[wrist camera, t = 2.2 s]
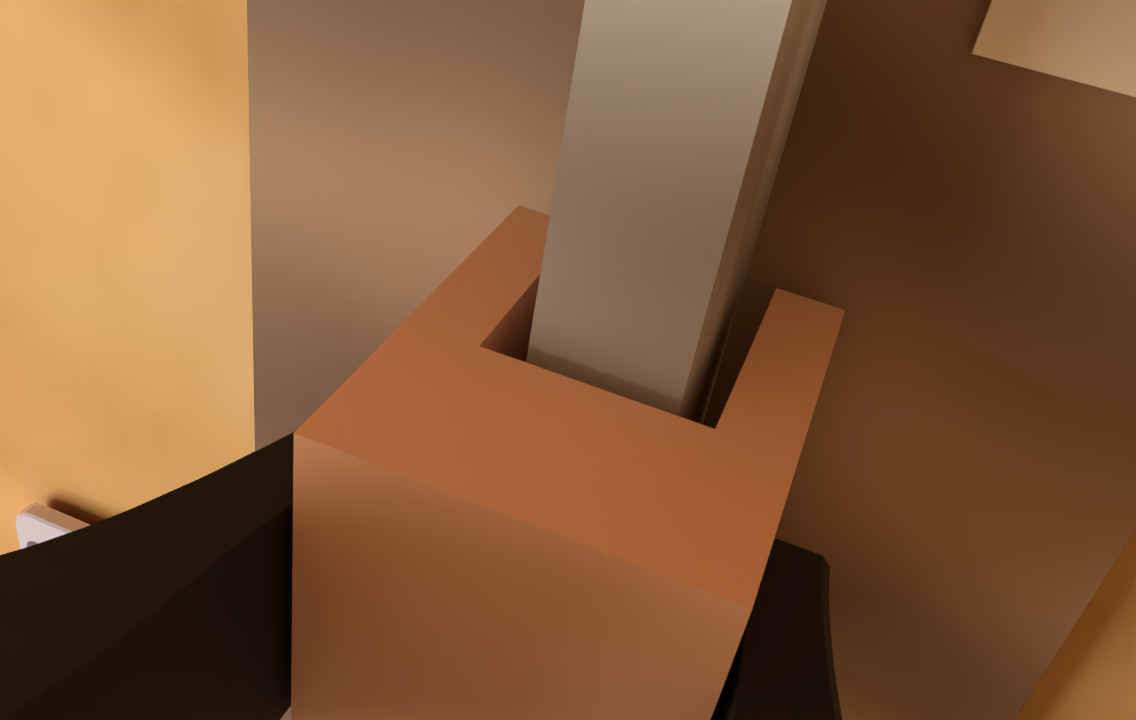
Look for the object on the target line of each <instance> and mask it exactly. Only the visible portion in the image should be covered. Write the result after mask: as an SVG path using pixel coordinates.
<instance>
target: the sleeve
mask: <svg viewBox="0 0 1136 720" xmlns="http://www.w3.org/2000/svg"><path fill="white" fill-rule="evenodd" d="M549 218H550V215H547V214H544V213H541V212H538V211H535V210H531V209H528V208H525V207H522V206H518V207H517V208H516V209H515V210H514V211H513V212H512V213H511V214H510V215H509V216H508V217H507V218H506V219H505V220H504V221H503V222H502V223H501V224H500V225H499V226H498V227H497V228H496V229H495V230H494V231H493V232H492V233H491V234H490V235H489V236H488V237H487V238H486V239H485V240H484V241H483V242H482V243H481V244H480V245H479V246H478V247H477V248H476V249H475V250H474V251H473V252H472V253H471V254H470V255H469V256H468V257H467V258H466V259H465V260H464V261H463V262H462V263H461V264H460V265H459V266H458V267H457V268H456V269H455V270H454V271H453V272H452V273H451V274H450V275H449V276H448V277H447V278H446V279H445V280H444V281H443V282H442V284H441V285H440V286H439V287H438V288H437V289H436V290H435V291H434V292H433V293H432V294H431V295H430V296H429V297H428V298H427V299H426V300H425V301H424V302H423V303H422V304H421V305H420V306H419V307H418V308H417V309H416V310H415V311H414V312H413V313H412V314H411V315H410V316H409V317H408V318H407V319H406V320H405V321H404V322H403V323H402V324H401V325H400V326H399V327H398V328H397V329H396V330H395V331H394V332H393V333H392V334H391V335H390V336H389V337H388V338H387V339H386V340H385V341H384V342H383V343H382V344H381V345H380V346H379V347H378V348H377V349H376V350H375V351H374V352H373V353H372V354H371V355H370V356H369V357H368V358H367V359H366V360H365V361H364V362H363V363H362V364H361V365H360V366H359V367H358V368H357V369H356V370H355V371H354V373H353V374H352V375H351V376H350V377H349V378H348V379H347V380H346V381H345V382H344V383H343V384H342V385H341V386H340V387H339V388H338V389H337V390H336V391H335V392H334V393H333V394H332V395H331V396H330V397H329V398H328V399H327V400H326V401H325V402H324V403H323V404H322V405H321V406H320V407H319V408H318V409H317V410H316V411H315V412H314V413H313V414H312V415H311V416H310V417H309V418H308V419H307V420H306V421H305V422H304V423H303V424H302V425H301V426H300V427H299V428H298V429H297V430H296V431H295V432H294V452H293V560H292V667H291V720H711V718H712V715H713V712H714V710H715V707H716V704H717V702H718V699H719V696H720V694H721V691H722V688H723V686H724V683H725V680H726V678H727V675H728V672H729V670H730V667H731V664H732V662H733V659H734V656H735V654H736V651H737V648H738V646H739V643H740V641H741V638H742V635H743V633H744V630H745V627H746V625H747V622H748V619H749V617H750V614H751V611H752V609H753V605H754V602H755V599H756V596H757V592H758V589H759V586H760V583H761V580H762V576H763V573H764V570H765V567H766V563H767V560H768V557H769V554H770V551H771V547H772V544H773V541H774V538H775V535H776V531H777V528H778V525H779V522H780V518H781V515H782V512H783V509H784V506H785V502H786V499H787V496H788V493H789V490H790V486H791V483H792V480H793V477H794V473H795V470H796V467H797V464H798V461H799V457H800V454H801V451H802V448H803V444H804V441H805V438H806V435H807V432H808V428H809V425H810V422H811V419H812V416H813V412H814V409H815V406H816V403H817V399H818V396H819V393H820V390H821V387H822V383H823V380H824V377H825V374H826V371H827V367H828V364H829V361H830V358H831V354H832V351H833V348H834V345H835V342H836V338H837V335H838V332H839V329H840V325H841V322H842V319H843V316H844V313H845V310H843V309H840V308H837V307H834V306H831V305H828V304H825V303H822V302H819V301H815V300H812V299H809V298H806V297H803V296H800V295H797V294H794V293H790V292H787V291H784V290H781V289H778V288H776V290H775V293H774V295H773V297H772V300H771V302H770V304H769V307H768V309H767V311H766V313H765V316H764V318H763V320H762V323H761V325H760V327H759V330H758V332H757V334H756V336H755V339H754V341H753V343H752V346H751V348H750V350H749V353H748V355H747V357H746V359H745V362H744V364H743V366H742V369H741V371H740V373H739V376H738V378H737V380H736V382H735V385H734V387H733V389H732V392H731V394H730V396H729V399H728V401H727V403H726V406H725V408H724V410H723V412H722V415H721V417H720V419H719V422H718V424H717V426H716V429H713V428H711V427H708V426H705V425H702V424H699V423H696V422H694V421H691V420H688V419H685V418H682V417H679V416H677V415H674V414H671V413H668V412H665V411H662V410H660V409H657V408H654V407H651V406H648V405H645V404H642V403H640V402H637V401H634V400H631V399H628V398H625V397H623V396H620V395H617V394H614V393H611V392H608V391H606V390H603V389H600V388H597V387H594V386H591V385H589V384H586V383H583V382H580V381H577V380H574V379H571V378H569V377H566V376H563V375H560V374H557V373H554V372H552V371H549V370H546V369H543V368H540V367H537V366H535V365H532V364H529V363H526V358H527V352H528V346H529V340H530V334H531V328H532V322H533V315H534V309H535V303H536V297H537V291H538V285H539V279H540V273H541V267H542V260H543V254H544V248H545V242H546V236H547V230H548V224H549Z"/></svg>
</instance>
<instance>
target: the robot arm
mask: <svg viewBox="0 0 1136 720" xmlns="http://www.w3.org/2000/svg"><path fill="white" fill-rule="evenodd" d="M294 432H295V431H294ZM294 432H292V433H290V434H288V435H286V436H284V437H282V438H280V439H278V440H277V441H275V442H273V443H271V444H269V445H267V446H265V447H263V448H261V449H259V450H257V451H255V452H253V453H251V454H249V455H247V456H245V457H243V458H241V459H239V460H237V461H235V462H233V463H231V464H229V465H227V466H225V467H223V468H221V469H219V470H217V471H215V472H213V473H210V474H208V475H206V476H204V477H202V478H200V479H198V480H196V481H193V482H191V483H189V484H187V485H184V486H182V487H180V488H178V489H175V490H173V491H171V492H169V493H166V494H164V495H162V496H160V497H157V498H155V499H153V500H151V501H148V502H146V503H144V504H142V505H139V506H137V507H135V508H132V509H130V510H128V511H125V512H123V513H120V514H118V515H115V516H113V517H110V518H108V519H105V520H102V521H100V522H97V523H95V524H92V525H90V524H88V523H86V522H83V521H81V520H78V519H76V518H74V517H71V516H69V515H67V514H64V513H62V512H60V511H57V510H55V509H52V508H50V507H48V506H45V505H41V504H31V505H29V506H28V507H27V508H26V509H24V510H23V511H22V512H21V513H19V515H18V516H17V517H16V529H17V534H18V539H19V544H20V550H17V551H13V552H10V553H6V554H3V555H0V720H291V667H292V560H293V452H294ZM829 576H830V566H829V565H828V563H827V561H826V559H825V558H824V556H823V555H820V554H817V553H814V552H812V551H809V550H806V549H804V548H801V547H798V546H796V545H793V544H790V543H787V542H785V541H782V540H779V539H777V538H774V541H773V544H772V547H771V551H770V554H769V557H768V560H767V563H766V567H765V570H764V573H763V576H762V580H761V583H760V586H759V589H758V592H757V596H756V599H755V602H754V605H753V609H752V611H751V614H750V617H749V619H748V622H747V625H746V627H745V630H744V633H743V635H742V638H741V641H740V643H739V646H738V648H737V651H736V654H735V656H734V659H733V662H732V664H731V667H730V670H729V672H728V675H727V678H726V680H725V683H724V686H723V688H722V691H721V694H720V696H719V699H718V702H717V704H716V707H715V710H714V712H713V715H712V718H711V720H842V715H841V709H840V703H839V697H838V691H837V684H836V676H835V669H834V660H833V650H832V640H831V628H830V611H829Z"/></svg>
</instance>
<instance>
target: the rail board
mask: <svg viewBox="0 0 1136 720" xmlns="http://www.w3.org/2000/svg"><path fill="white" fill-rule="evenodd" d="M247 22H248V78H249V134H250V190H251V246H252V302H253V358H254V414H255V451H257V450H259V449H261V448H263V447H265V446H267V445H269V444H271V443H273V442H275V441H277V440H278V439H280V438H282V437H284V436H286V435H288V434H290V433H292V432H294V431H296V430H297V429H298V428H299V427H300V426H301V425H302V424H303V423H304V422H305V421H306V420H307V419H308V418H309V417H310V416H311V415H312V414H313V413H314V412H315V411H316V410H317V409H318V408H319V407H320V406H321V405H322V404H323V403H324V402H325V401H326V400H327V399H328V398H329V397H330V396H331V395H332V394H333V393H334V392H335V391H336V390H337V389H338V388H339V387H340V386H341V385H342V384H343V383H344V382H345V381H346V380H347V379H348V378H349V377H350V376H351V375H352V374H353V373H354V371H355V370H356V369H357V368H358V367H359V366H360V365H361V364H362V363H363V362H364V361H365V360H366V359H367V358H368V357H369V356H370V355H371V354H372V353H373V352H374V351H375V350H376V349H377V348H378V347H379V346H380V345H381V344H382V343H383V342H384V341H385V340H386V339H387V338H388V337H389V336H390V335H391V334H392V333H393V332H394V331H395V330H396V329H397V328H398V327H399V326H400V325H401V324H402V323H403V322H404V321H405V320H406V319H407V318H408V317H409V316H410V315H411V314H412V313H413V312H414V311H415V310H416V309H417V308H418V307H419V306H420V305H421V304H422V303H423V302H424V301H425V300H426V299H427V298H428V297H429V296H430V295H431V294H432V293H433V292H434V291H435V290H436V289H437V288H438V287H439V286H440V285H441V284H442V282H443V281H444V280H445V279H446V278H447V277H448V276H449V275H450V274H451V273H452V272H453V271H454V270H455V269H456V268H457V267H458V266H459V265H460V264H461V263H462V262H463V261H464V260H465V259H466V258H467V257H468V256H469V255H470V254H471V253H472V252H473V251H474V250H475V249H476V248H477V247H478V246H479V245H480V244H481V243H482V242H483V241H484V240H485V239H486V238H487V237H488V236H489V235H490V234H491V233H492V232H493V231H494V230H495V229H496V228H497V227H498V226H499V225H500V224H501V223H502V222H503V221H504V220H505V219H506V218H507V217H508V216H509V215H510V214H511V213H512V212H513V211H514V210H515V209H516V208H517V207H518V206H522V207H525V208H528V209H531V210H535V211H538V212H541V213H544V214H547V215H550V218H549V224H548V230H547V236H546V242H545V248H544V254H543V260H542V267H541V273H540V279H539V285H538V291H537V297H536V303H535V309H534V315H533V322H532V328H531V334H530V340H529V346H528V352H527V358H526V363H529V364H532V365H535V366H537V367H540V368H543V369H546V370H549V371H552V372H554V373H557V374H560V375H563V376H566V377H569V378H571V379H574V380H577V381H580V382H583V383H586V384H589V385H591V386H594V387H597V388H600V389H603V390H606V391H608V392H611V393H614V394H617V395H620V396H623V397H625V398H628V399H631V400H634V401H637V402H640V403H642V404H645V405H648V406H651V407H654V408H657V409H660V410H662V411H665V412H668V413H671V414H674V415H677V416H679V417H682V418H685V419H688V420H691V421H694V422H696V423H699V424H702V425H705V426H708V427H711V428H713V429H716V426H717V424H718V422H719V419H720V417H721V415H722V412H723V410H724V408H725V406H726V403H727V401H728V399H729V396H730V394H731V392H732V389H733V387H734V385H735V382H736V380H737V378H738V376H739V373H740V371H741V369H742V366H743V364H744V362H745V359H746V357H747V355H748V353H749V350H750V348H751V346H752V343H753V341H754V339H755V336H756V334H757V332H758V330H759V327H760V325H761V323H762V320H763V318H764V316H765V313H766V311H767V309H768V307H769V304H770V302H771V300H772V297H773V295H774V293H775V290H776V288H778V289H781V290H784V291H787V292H790V293H794V294H797V295H800V296H803V297H806V298H809V299H812V300H815V301H819V302H822V303H825V304H828V305H831V306H834V307H837V308H840V309H843V310H845V313H844V316H843V319H842V322H841V325H840V329H839V332H838V335H837V338H836V342H835V345H834V348H833V351H832V354H831V358H830V361H829V364H828V367H827V371H826V374H825V377H824V380H823V383H822V387H821V390H820V393H819V396H818V399H817V403H816V406H815V409H814V412H813V416H812V419H811V422H810V425H809V428H808V432H807V435H806V438H805V441H804V444H803V448H802V451H801V454H800V457H799V461H798V464H797V467H796V470H795V473H794V477H793V480H792V483H791V486H790V490H789V493H788V496H787V499H786V502H785V506H784V509H783V512H782V515H781V518H780V522H779V525H778V528H777V531H776V535H775V538H777V539H779V540H782V541H785V542H787V543H790V544H793V545H796V546H798V547H801V548H804V549H806V550H809V551H812V552H814V553H817V554H820V555H823V556H824V558H825V559H826V561H827V563H828V565H829V566H830V576H829V611H830V628H831V640H832V650H833V660H834V669H835V676H836V684H837V691H838V697H839V703H840V709H841V715H842V720H1014V719H1015V718H1016V716H1017V715H1018V713H1019V712H1020V710H1021V709H1022V707H1023V705H1024V704H1025V702H1026V701H1027V699H1028V698H1029V696H1030V695H1031V693H1032V691H1033V690H1034V688H1035V687H1036V685H1037V684H1038V682H1039V681H1040V679H1041V677H1042V676H1043V674H1044V673H1045V671H1046V670H1047V668H1048V667H1049V665H1050V663H1051V662H1052V660H1053V659H1054V657H1055V656H1056V654H1057V653H1058V651H1059V649H1060V648H1061V646H1062V645H1063V643H1064V642H1065V640H1066V639H1067V637H1068V635H1069V634H1070V632H1071V631H1072V629H1073V628H1074V626H1075V625H1076V623H1077V621H1078V620H1079V618H1080V617H1081V615H1082V614H1083V612H1084V610H1085V609H1086V607H1087V606H1088V604H1089V603H1090V601H1091V600H1092V598H1093V596H1094V595H1095V593H1096V592H1097V590H1098V589H1099V587H1100V586H1101V584H1102V582H1103V581H1104V579H1105V578H1106V576H1107V575H1108V573H1109V572H1110V570H1111V568H1112V567H1113V565H1114V564H1115V562H1116V561H1117V559H1118V558H1119V556H1120V554H1121V553H1122V551H1123V550H1124V548H1125V547H1126V545H1127V544H1128V542H1129V540H1130V539H1131V537H1132V536H1133V534H1134V533H1135V531H1136V0H247Z"/></svg>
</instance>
